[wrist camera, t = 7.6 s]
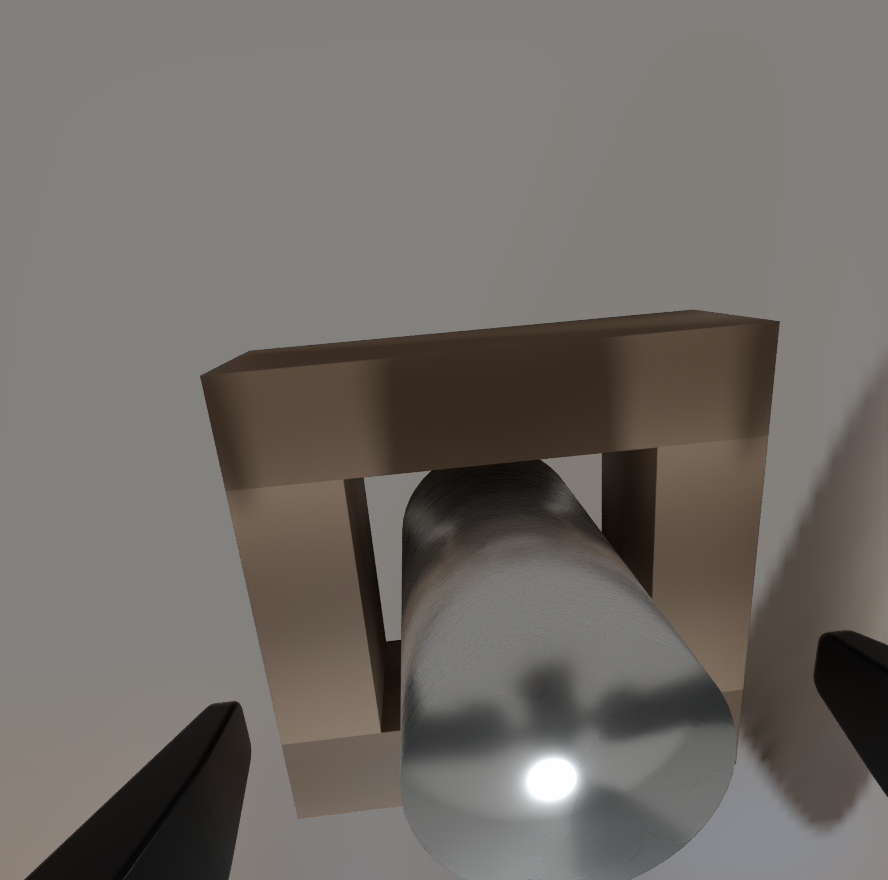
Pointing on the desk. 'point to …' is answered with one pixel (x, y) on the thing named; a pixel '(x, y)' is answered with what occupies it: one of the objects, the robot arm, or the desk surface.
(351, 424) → the frame
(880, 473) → the desk surface
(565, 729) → the metal cylinder
